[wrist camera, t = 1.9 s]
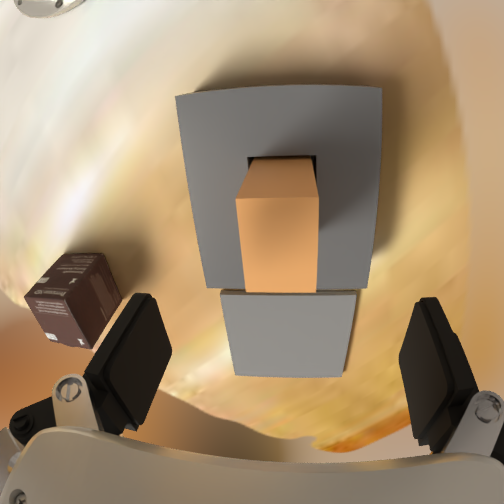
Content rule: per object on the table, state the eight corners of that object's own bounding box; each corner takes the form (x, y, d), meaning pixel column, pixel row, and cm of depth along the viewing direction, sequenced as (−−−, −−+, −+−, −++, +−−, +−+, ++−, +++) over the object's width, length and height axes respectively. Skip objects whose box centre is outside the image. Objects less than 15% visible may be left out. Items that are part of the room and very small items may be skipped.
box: (105, 251, 28) (65, 300, 22) (124, 300, 31) (93, 351, 25) (61, 253, 29) (21, 295, 23) (81, 298, 32) (49, 342, 26)
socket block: (192, 92, 20) (175, 96, 17) (368, 85, 18) (382, 88, 15) (216, 262, 27) (206, 287, 24) (359, 262, 25) (366, 288, 22)
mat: (221, 290, 28) (219, 294, 28) (355, 290, 27) (356, 295, 26) (236, 371, 35) (235, 375, 34) (341, 372, 33) (341, 377, 32)
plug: (257, 150, 21) (235, 198, 13) (309, 148, 20) (318, 197, 13) (262, 215, 24) (246, 292, 16) (309, 215, 23) (316, 292, 15)
